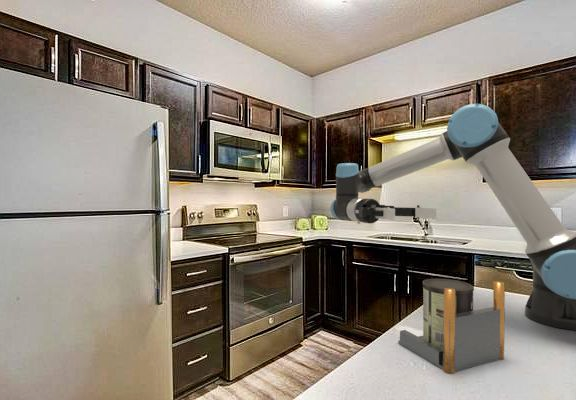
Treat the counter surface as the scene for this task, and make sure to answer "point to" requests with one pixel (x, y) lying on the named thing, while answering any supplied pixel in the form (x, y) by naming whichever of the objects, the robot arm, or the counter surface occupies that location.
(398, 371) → the counter surface
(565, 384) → the counter surface
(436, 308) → the coffee can
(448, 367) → the keeper bracket
